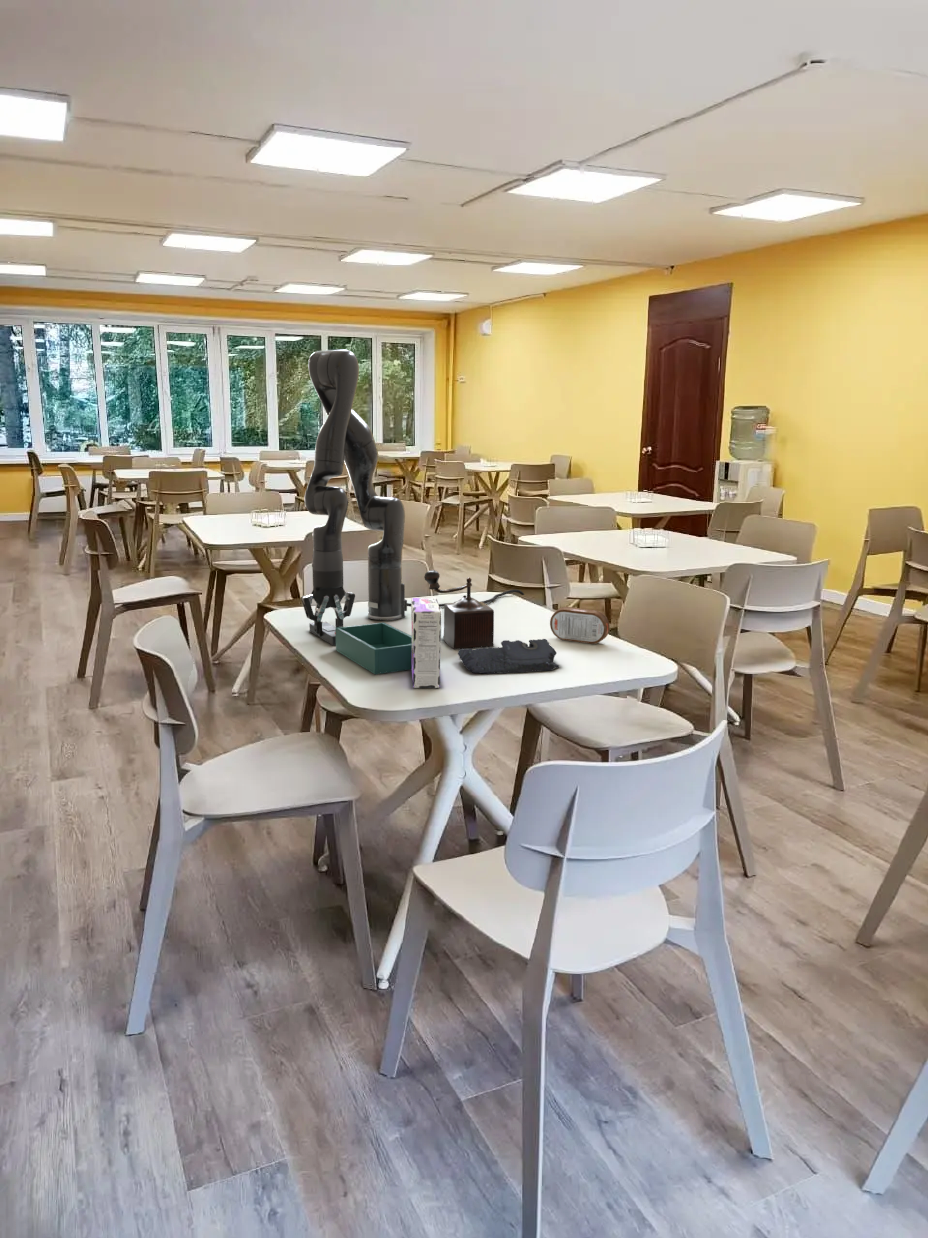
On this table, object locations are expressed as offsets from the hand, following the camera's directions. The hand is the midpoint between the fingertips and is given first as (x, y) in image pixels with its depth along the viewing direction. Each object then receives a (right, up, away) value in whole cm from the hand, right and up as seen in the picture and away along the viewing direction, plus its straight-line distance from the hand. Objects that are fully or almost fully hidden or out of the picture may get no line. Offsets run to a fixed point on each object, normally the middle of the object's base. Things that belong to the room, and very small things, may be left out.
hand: (329, 634), depth 223 cm
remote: (0, -1, 0) cm, 1 cm away
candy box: (+26, -9, -34) cm, 43 cm away
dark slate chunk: (+44, -7, -21) cm, 49 cm away
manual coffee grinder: (+32, -2, -4) cm, 33 cm away
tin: (+63, -2, 0) cm, 63 cm away
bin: (+15, -5, -19) cm, 24 cm away
